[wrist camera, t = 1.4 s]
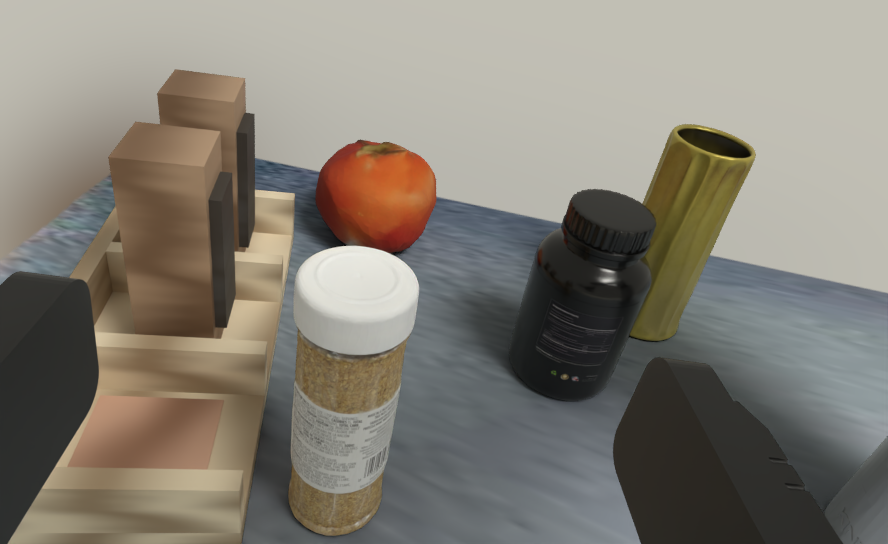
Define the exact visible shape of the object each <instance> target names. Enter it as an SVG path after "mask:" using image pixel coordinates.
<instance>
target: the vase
mask: <svg viewBox="0 0 888 544" xmlns="http://www.w3.org/2000/svg"><path fill="white" fill-rule="evenodd" d="M755 156H756V154H755V151H754V149H753V148H752V147H751V146H750V145H749V144H747V143H746V142H744V141H743V140H741V139H739V138H737V137H735V136H733V135H730V134H728V133H725V132H723V131H720V130H717V129H713V128H709V127H704V126H700V125H692V124H684V125H679V126H677V127H675V128H674V129H673V130H672V132H671V133H670V135H669V138H668V140H667V143H666V146H665V149H664V151H663V153H662V156H661V158H660V161H659V163H658V166H657V169H656V171H655V174H654V176H653V179H652V181H651V184H650V186H649V189H648V191H647V194H646V196H645V199H644V201H643V203H642V204H643V205H645V206H646V207H647V208H648V209H649V210H651V212H652V213H653V214H654V217H655V218H656V227H655V230H654V233H653V235H652V238H651V240H650V248H649V250H648V252H647V254H646V255H645V257H646V259H647V261H648V263H649V265H650V268H651V273H652V283H651V287H650V289H649V292H648V294H647V297H646V299H645V301H644V304H643V306H642V308H641V310H640V313H639V315H638V317H637V319H636V322H635V324H634V326H633V329H632V331H631V333H630V335H629V336H632V337H634V338H638V339H642V340H648V341H660V340H665V339H668V338H670V337H672V336H673V335H674V334H675V333H676V332H677V329H678V325H679V320H680V318H681V315H682V313H683V310H684V309H685V307H686V305H687V303H688V301H689V299H690V297H691V295H692V293H693V291H694V288H695V286H696V284H697V282H698V280H699V277H700V275H701V273H702V271H703V269H704V266H705V264H706V262H707V259H708V257H709V255H710V253H711V251H712V249H713V247H714V245H715V243H716V240H717V238H718V236H719V233H720V231H721V229H722V227H723V224H724V222H725V220H726V218H727V216H728V214H729V212H730V209H731V207H732V205H733V203H734V201H735V199H736V197H737V195H738V193H739V191H740V189H741V187H742V185H743V183H744V180H745V179H746V177H747V175H748V173H749V171H750V168H751V167H752V164H753V162H754V159H755Z"/></svg>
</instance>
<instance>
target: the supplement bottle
mask: <svg viewBox="0 0 888 544" xmlns="http://www.w3.org/2000/svg"><path fill="white" fill-rule="evenodd" d="M655 227H656V218H655V217H654V214H653V213H652V212H651V210H649V209H648V208H647V207H646V206H645V205H643V204H641V203H640V202H639V201H636V200H635V199H633V198H630V197H628V196H626V195H623V194H620V193H617V192H612V191H608V190H602V189H601V190H598V189H592V190H591V189H588V190H582V191H581V192H577V194H575V195H573V197H572V198H571V200H570V203H569V206H568V209H567V212H566V215H565V216H564V219H563V222H562V225H561V228H560V229H557V230H555V231H553V232H552V233H550V234H549V235H547V236H546V237H545V238H544V239H543V240H542V242H541V243H540V245H539V246H538V249H537V252H536V255H535V258H534V261H533V265H532V268H531V272H530V275H529V278H528V282H527V285H526V289H525V292H524V295H523V299H522V302H521V306H520V309H519V312H518V316H517V319H516V323H515V326H514V329H513V333H512V337H511V340H510V344H509V359H510V362H511V364H512V367H513V369H514V370H515V372H516V373H517V375H518V376H519V377H520V378H521V379H522V380H523V381H524V382H525V383H526V384H527V385H528V386H530V387H531V388H533V389H534V390H536V391H537V392H539V393H541V394H543V395H546V396H548V397H552V398H555V399H559V400H567V401H578V400H584V399H588V398H591V397H593V396H595V395H597V394H598V393H600V392H601V391H602V390H603V389H604V388H605V387H606V385H607V384H608V382H609V380H610V378H611V376H612V373H613V372H614V369H615V367H616V365H617V363H618V360H619V358H620V356H621V353H622V351H623V349H624V347H625V344H626V342H627V340H628V338H629V335H630V333H631V331H632V329H633V326H634V324H635V322H636V319H637V317H638V315H639V313H640V310H641V308H642V306H643V304H644V301H645V299H646V297H647V294H648V292H649V289H650V287H651V283H652V273H651V268H650V265H649V263H648V261H647V259H646V257H645V255H646V254H647V252H648V250H649V248H650V240H651V238H652V235H653V233H654V230H655Z"/></svg>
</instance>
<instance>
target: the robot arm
mask: <svg viewBox="0 0 888 544" xmlns="http://www.w3.org/2000/svg"><path fill="white" fill-rule="evenodd" d="M98 379H99V364H98V355H97V347H96V338H95V330H94V321H93V313H92V304H91V296H90V291H89V288H88V285H87V283H86V282H85V281H84V280H82V279H75V278H67V277H60V276H52V275H45V274H37V273H29V272H21V271H20V272H16V273H14V274H12V275H11V276H10V277H8V278H7V279H6V280H5V281H4V282H3V283H2V284H1V285H0V544H8V542H9V541H10V539H11V537H12V536H13V534H14V532H15V531H16V529H17V528H18V526H19V524H20V523H21V521H22V520H23V518H24V516H25V515H26V513H27V511H28V510H29V508H30V507H31V505H32V503H33V502H34V500H35V498H36V497H37V495H38V494H39V492H40V490H41V489H42V487H43V486H44V484H45V482H46V481H47V479H48V477H49V476H50V474H51V473H52V471H53V469H54V468H55V466H56V464H57V463H58V461H59V460H60V458H61V456H62V455H63V453H64V452H65V450H66V448H67V447H68V445H69V443H70V442H71V440H72V439H73V437H74V435H75V434H76V432H77V430H78V429H79V427H80V426H81V424H82V422H83V421H84V419H85V418H86V416H87V414H88V412H89V410H90V408H91V406H92V403H93V401H94V398H95V394H96V390H97V386H98ZM613 458H614V465H615V470H616V473H617V476H618V479H619V482H620V485H621V487H622V490H623V493H624V496H625V499H626V502H627V505H628V507H629V510H630V513H631V516H632V519H633V522H634V525H635V528H636V530H637V533H638V536H639V539H640V542H641V544H888V436H887V437H886V438H885V440H884V441H883V442H882V443H881V444H880V445H879V447H878V448H877V449H876V450H875V451H874V452H873V453H872V455H871V456H870V457H869V458H868V459H867V460H866V461H865V462H864V464H863V465H862V466H861V467H860V468H859V469H858V470H857V472H856V473H855V474H854V475H853V476H852V477H851V479H850V480H849V481H848V482H847V483H846V484H845V485H844V487H843V488H842V489H841V490H840V491H839V492H838V494H837V495H836V496H835V497H834V498H833V499H832V501H831V502H830V503H829V505H828V506H827V508H826V509H825V514H823V512H822V511H821V509H820V508H819V506H818V505H817V503H816V502H815V500H814V499H813V497H812V496H811V494H810V492H807V491H805V490H804V483H803V482H802V480H801V479H800V477H799V476H798V474H797V473H796V471H795V470H794V468H793V467H792V466H791V465H788V464H787V460H788V459H787V458H786V456H785V454H784V453H783V451H782V450H781V448H780V447H779V445H778V444H777V442H776V441H775V439H774V438H773V436H772V435H771V433H770V432H769V430H768V429H767V428H766V427H765V426H764V425H763V424H762V423H761V422H760V421H758V420H757V419H756V418H755V417H754V416H753V415H752V414H751V413H750V412H749V411H748V410H747V409H745V408H744V407H743V406H742V405H741V404H740V403H739V402H737V401H733V400H732V399H731V397H730V395H729V394H728V392H727V391H726V389H725V387H724V386H723V384H722V383H721V381H720V379H719V378H718V376H717V375H716V373H715V372H714V370H713V369H712V368H711V367H710V366H709V365H707V364H704V363H697V362H690V361H682V360H674V359H667V358H659V357H658V358H655V359H653V360H652V361H650V362H649V364H648V365H647V367H646V369H645V371H644V373H643V375H642V377H641V379H640V381H639V383H638V385H637V388H636V390H635V392H634V394H633V396H632V398H631V400H630V402H629V405H628V407H627V409H626V411H625V413H624V415H623V417H622V419H621V422H620V424H619V426H618V428H617V431H616V434H615V438H614V446H613Z"/></svg>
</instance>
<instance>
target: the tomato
mask: <svg viewBox="0 0 888 544" xmlns="http://www.w3.org/2000/svg"><path fill="white" fill-rule="evenodd" d="M435 203H436V179H435V175H434V173H433V171H432V169H431V168H430V166H429V165H428V164H427V162H426V161H425V160H424V159H423V158H422V157H420V156H419V155H417V154H415V153H413V152H410V151H408V150H407V149H405V148H403V147H401V146H399V145H396V144H393V143H389V142H383V143H375V142H370V141H364V140H358V141H357V142H356V143H353V144H348V145H347V146H345V147H343V148H342V149H340V150H339V151H337V152H336V153H335V154H334V155H333V156H332V157H331V158H330V159H329V160H328V161H327V162H326V163H325V165H324V166H323V167H322V169H321V171H320V174H319V178H318V183H317V188H316V205H317V207H318V210H319V212H320V214H321V216H322V218H323V220H324V221H325V223H326V224H327V225H328V226H329V228H330V229H331V230H332V232H333V233H334V235H335V236H336V237H337V238H338V239H339V240H341V241H342V242H343V243H345V244H347V245H348V246H362V247H369V248H374V249H378V250H381V251H385V252H387V253H393V252H396V251H397V252H398V251H402V250H404V249H406V248H409V247H410V246H411V245H412V244H413V243H414V242H415V241H416V240H417V239H418V238H419V236H421V234H422V233H423V231H424V229H425V226H426V224H427V221H428V219H429V217H430V215H431V213H432V211H433V208H434V206H435Z"/></svg>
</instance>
